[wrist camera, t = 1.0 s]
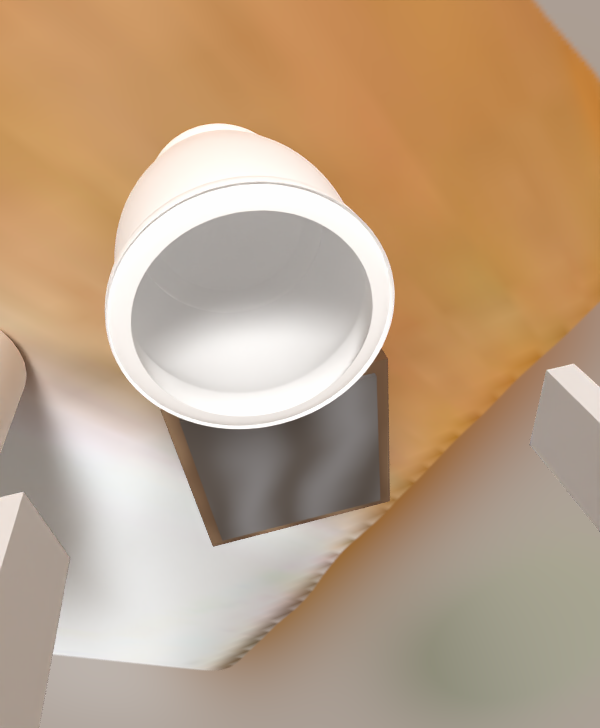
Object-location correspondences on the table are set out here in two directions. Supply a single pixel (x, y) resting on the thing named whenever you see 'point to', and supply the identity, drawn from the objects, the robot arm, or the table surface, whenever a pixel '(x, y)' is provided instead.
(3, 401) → the alcohol
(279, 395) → the jar
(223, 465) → the plinth
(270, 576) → the table surface
